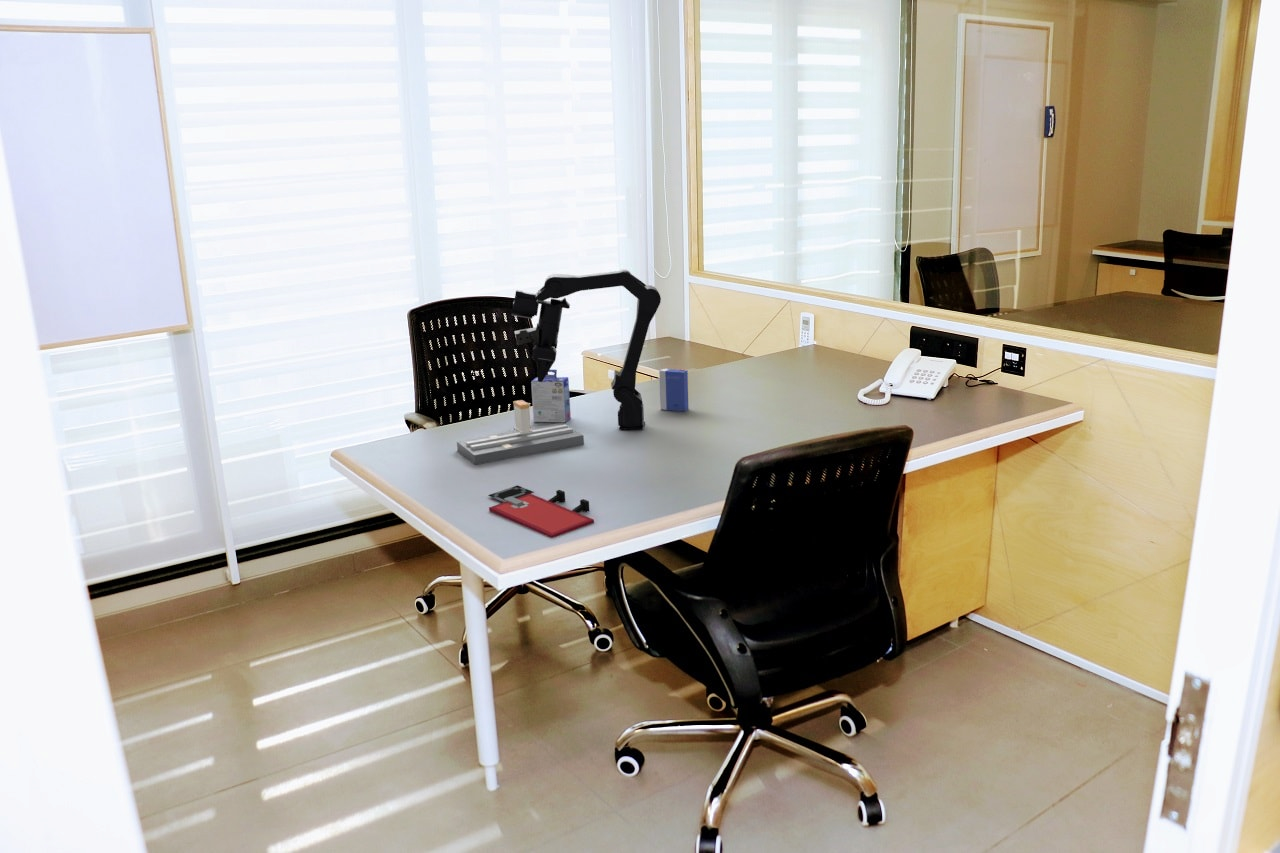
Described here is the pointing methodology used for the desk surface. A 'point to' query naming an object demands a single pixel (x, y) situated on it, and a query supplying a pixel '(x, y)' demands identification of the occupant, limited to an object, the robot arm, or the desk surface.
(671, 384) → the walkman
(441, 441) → the desk surface
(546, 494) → the desk surface
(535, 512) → the red board with handle
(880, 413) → the desk surface
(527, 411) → the fader lever
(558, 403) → the ink cartridge box
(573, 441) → the fader console
